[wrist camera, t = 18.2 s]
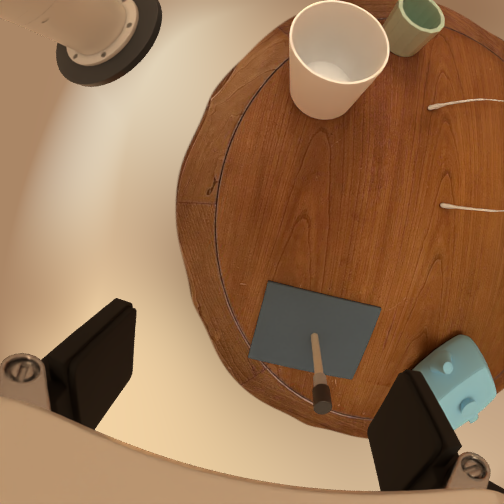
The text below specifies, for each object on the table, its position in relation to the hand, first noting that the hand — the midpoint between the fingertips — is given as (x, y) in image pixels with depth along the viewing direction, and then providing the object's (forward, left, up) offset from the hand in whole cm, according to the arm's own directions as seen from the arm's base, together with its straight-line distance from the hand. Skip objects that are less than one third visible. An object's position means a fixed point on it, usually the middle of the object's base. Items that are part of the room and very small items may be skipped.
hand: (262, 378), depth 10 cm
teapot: (+30, -14, -32) cm, 46 cm away
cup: (+1, +19, -32) cm, 37 cm away
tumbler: (+10, +30, -32) cm, 45 cm away
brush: (+8, -13, -31) cm, 34 cm away
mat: (+8, -13, -32) cm, 35 cm away
